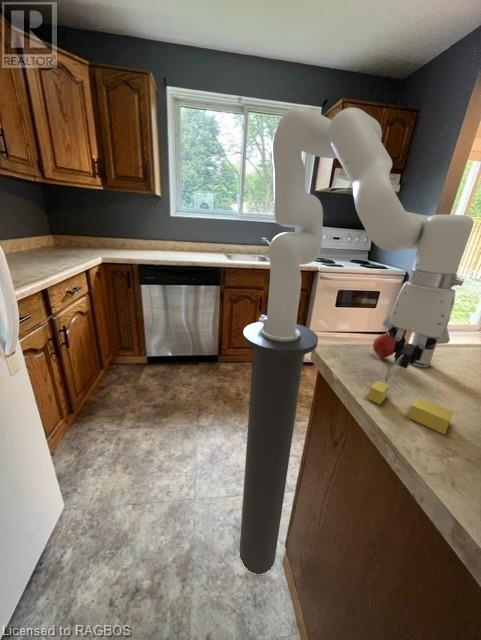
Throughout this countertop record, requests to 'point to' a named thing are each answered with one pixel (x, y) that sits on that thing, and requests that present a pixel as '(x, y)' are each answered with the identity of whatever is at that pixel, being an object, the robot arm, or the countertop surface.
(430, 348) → the energy drink
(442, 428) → the butter block
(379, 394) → the butter slice
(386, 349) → the onion
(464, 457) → the countertop surface
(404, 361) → the knife
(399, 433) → the countertop surface
